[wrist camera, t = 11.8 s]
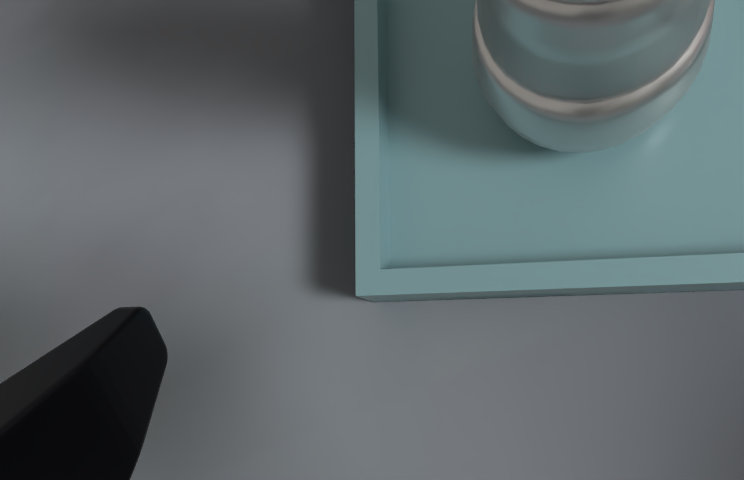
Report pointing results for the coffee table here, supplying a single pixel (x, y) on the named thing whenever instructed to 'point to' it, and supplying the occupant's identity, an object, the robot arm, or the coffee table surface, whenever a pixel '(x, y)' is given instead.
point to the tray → (534, 177)
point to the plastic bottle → (587, 65)
